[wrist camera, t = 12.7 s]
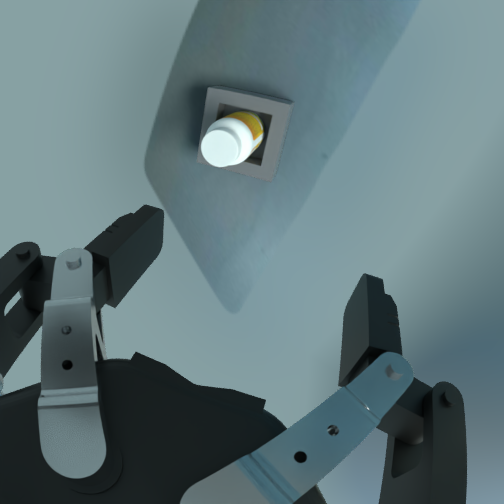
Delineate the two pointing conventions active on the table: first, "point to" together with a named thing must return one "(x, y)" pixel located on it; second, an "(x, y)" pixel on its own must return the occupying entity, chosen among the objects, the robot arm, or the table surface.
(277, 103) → the socket mount
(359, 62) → the table surface
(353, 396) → the robot arm
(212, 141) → the supplement bottle
